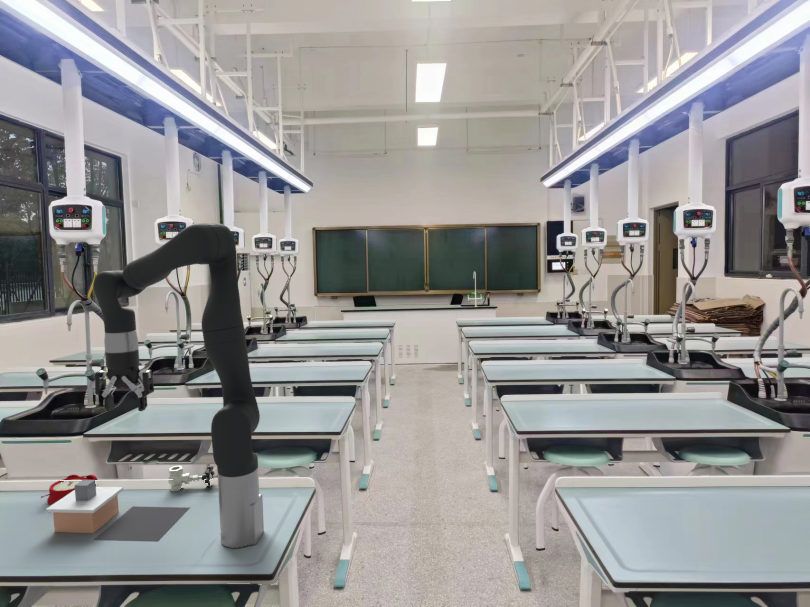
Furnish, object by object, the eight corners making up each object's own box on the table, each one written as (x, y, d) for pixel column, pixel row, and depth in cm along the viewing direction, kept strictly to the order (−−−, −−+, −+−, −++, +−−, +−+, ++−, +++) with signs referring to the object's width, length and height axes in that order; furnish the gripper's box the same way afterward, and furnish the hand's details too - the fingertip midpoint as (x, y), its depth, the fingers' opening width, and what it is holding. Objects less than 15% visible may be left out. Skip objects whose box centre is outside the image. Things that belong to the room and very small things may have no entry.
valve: (165, 495, 145) (209, 493, 147) (164, 473, 145) (208, 470, 146) (173, 485, 152) (215, 482, 153) (171, 464, 151) (213, 461, 153)
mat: (190, 508, 137) (190, 507, 137) (158, 542, 122) (158, 541, 122) (132, 507, 138) (132, 506, 138) (93, 541, 123) (93, 539, 123)
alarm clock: (34, 495, 139) (69, 461, 153) (39, 514, 141) (74, 479, 155) (71, 495, 138) (104, 461, 153) (76, 514, 140) (108, 479, 155)
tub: (118, 513, 136) (117, 491, 135) (93, 534, 126) (91, 510, 125) (82, 512, 136) (80, 491, 136) (54, 533, 126) (52, 510, 126)
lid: (123, 490, 136) (122, 472, 135) (93, 513, 124) (91, 494, 123) (80, 489, 137) (78, 472, 136) (46, 512, 125) (44, 493, 124)
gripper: (156, 345, 134) (160, 406, 136) (104, 345, 135) (108, 405, 137) (140, 351, 127) (144, 415, 128) (85, 351, 127) (90, 414, 129)
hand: (126, 410), depth 132 cm, fingers open, 8 cm apart
